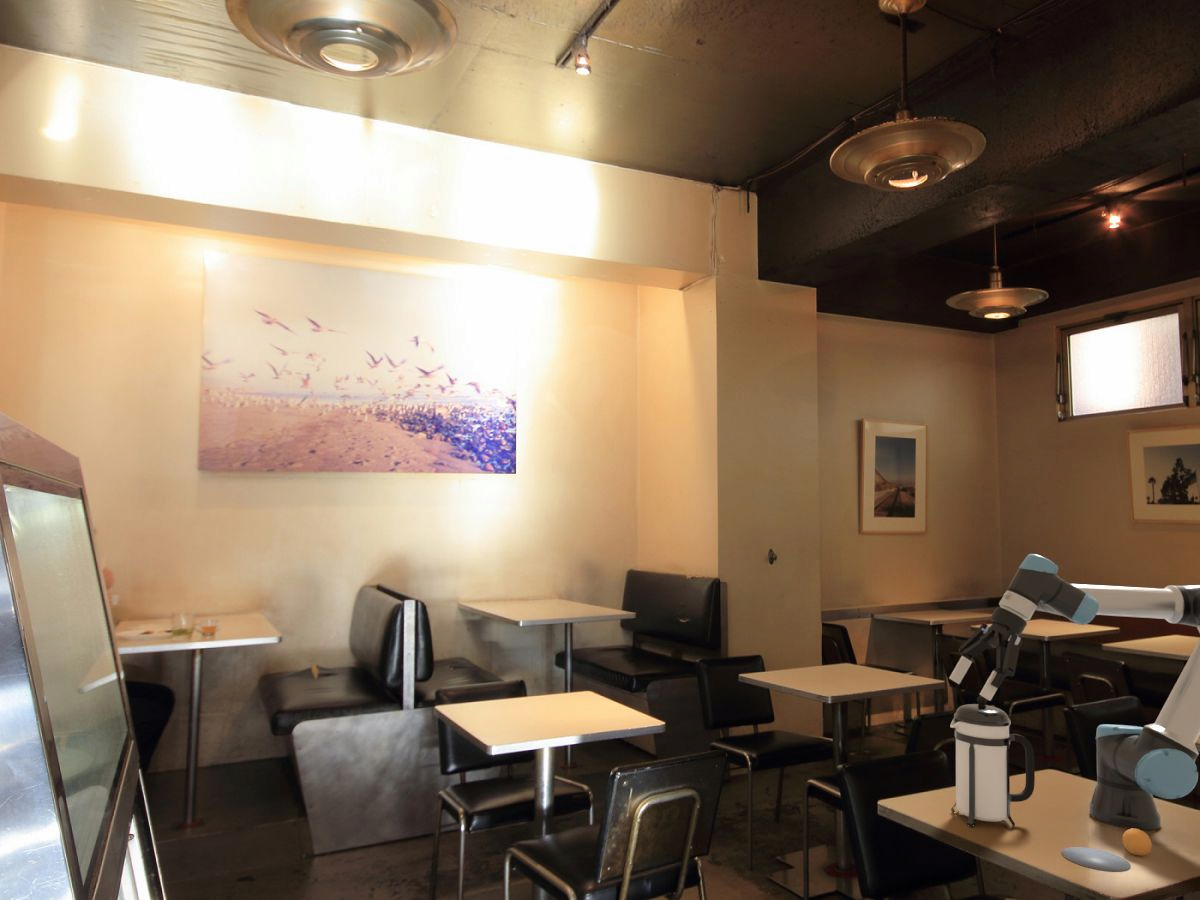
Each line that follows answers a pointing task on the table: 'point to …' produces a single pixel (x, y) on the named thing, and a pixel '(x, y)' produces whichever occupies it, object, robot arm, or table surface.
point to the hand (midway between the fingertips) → (968, 689)
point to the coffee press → (987, 763)
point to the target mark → (1096, 859)
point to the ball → (1137, 842)
